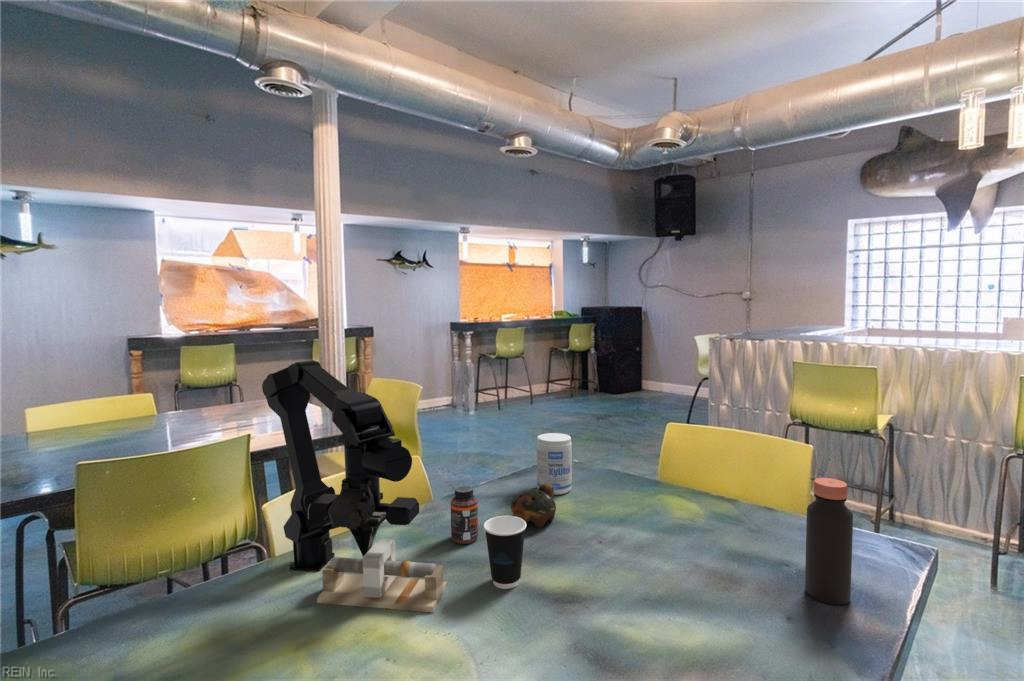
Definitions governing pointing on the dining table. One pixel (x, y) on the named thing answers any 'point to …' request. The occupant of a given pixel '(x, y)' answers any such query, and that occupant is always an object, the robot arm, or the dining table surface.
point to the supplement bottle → (464, 516)
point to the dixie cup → (505, 549)
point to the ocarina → (535, 505)
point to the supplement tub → (554, 461)
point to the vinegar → (829, 543)
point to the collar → (378, 568)
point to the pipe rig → (398, 594)
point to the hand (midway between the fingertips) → (365, 555)
